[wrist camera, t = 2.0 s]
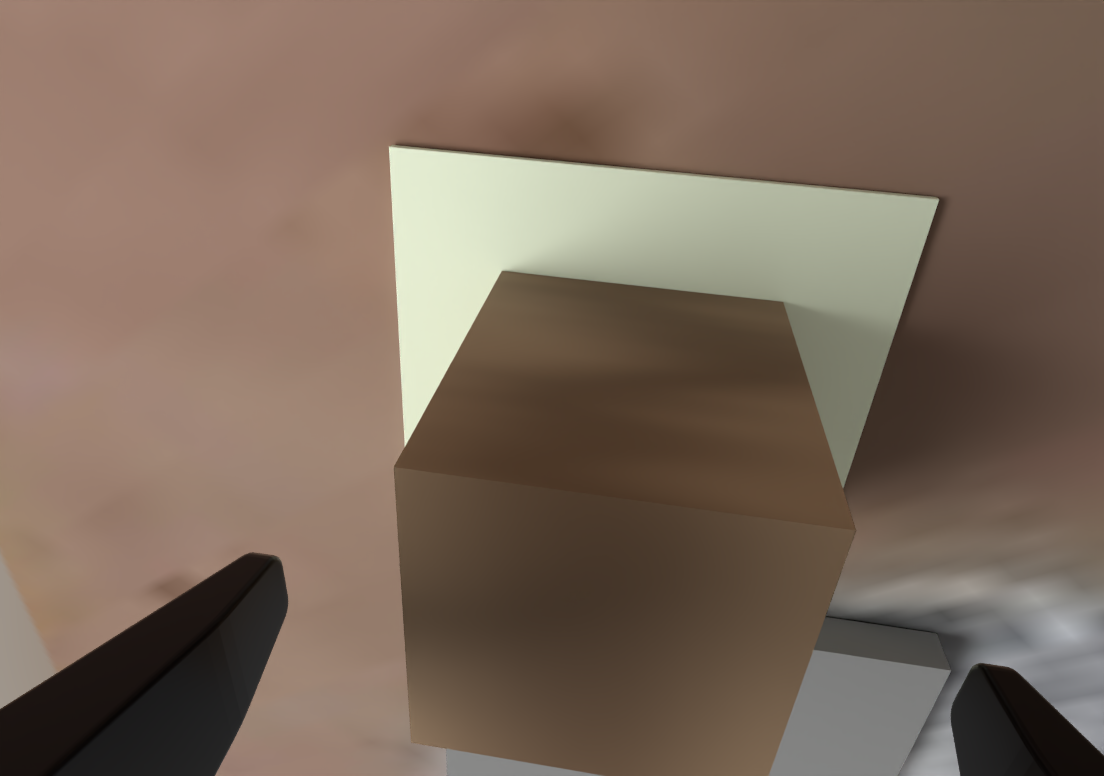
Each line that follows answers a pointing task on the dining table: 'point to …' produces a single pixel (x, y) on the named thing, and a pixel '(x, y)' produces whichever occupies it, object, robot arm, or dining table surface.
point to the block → (617, 532)
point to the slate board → (826, 707)
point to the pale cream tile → (655, 258)
